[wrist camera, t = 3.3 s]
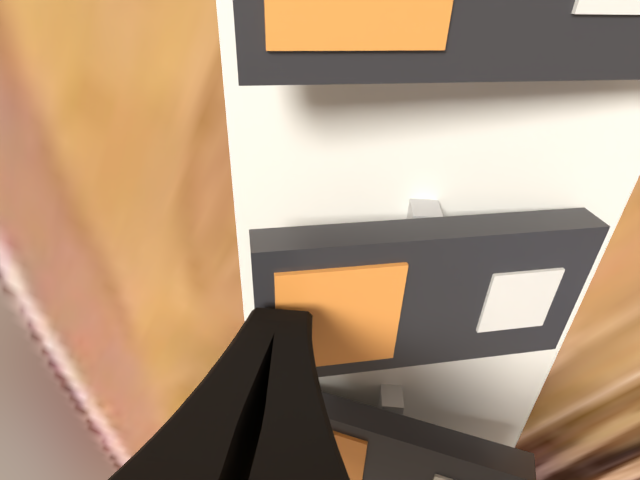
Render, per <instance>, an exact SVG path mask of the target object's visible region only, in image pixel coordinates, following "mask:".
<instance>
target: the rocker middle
mask: <svg viewBox="0 0 640 480" xmlns="http://www.w3.org/2000/svg"><path fill="white" fill-rule="evenodd" d="M609 229H610V226H609V225H608V224H606V223H605V222H604V221H602V220H601V219H599V218H598V217H597V216H595V215H594V214H593V213H591V212H590V211H589V210H587V209H586V208H585V207H584V208H568V209H553V210H538V211H522V212H507V213H492V214H477V215H461V216H446V217H431V218H415V219H400V220H385V221H370V222H354V223H339V224H324V225H308V226H293V227H278V228H263V229H249V238H250V252H251V266H252V281H253V295H254V309H255V308H270V309H284V310H299V311H308V312H309V313H310V314H312V315H313V317H312V344H313V351H314V358H315V364H316V369H317V374H318V377H325V376H334V375H342V374H351V373H359V372H367V371H376V370H384V369H392V368H401V367H409V366H417V365H426V364H434V363H443V362H451V361H459V360H468V359H476V358H484V357H493V356H501V355H509V354H518V353H526V352H535V351H543V350H551V349H556V346H557V344H558V342H559V340H560V337H561V335H562V333H563V331H564V329H565V326H566V324H567V322H568V320H569V317H570V315H571V313H572V311H573V309H574V306H575V304H576V302H577V300H578V298H579V295H580V293H581V291H582V289H583V286H584V284H585V282H586V280H587V278H588V275H589V273H590V271H591V269H592V266H593V264H594V262H595V260H596V258H597V255H598V253H599V251H600V249H601V246H602V244H603V242H604V240H605V238H606V235H607V233H608V231H609Z"/></svg>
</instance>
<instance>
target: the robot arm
mask: <svg viewBox="0 0 640 480" xmlns="http://www.w3.org/2000/svg"><path fill="white" fill-rule="evenodd" d="M312 317H313V315H312V314H310V313H309V312H308V311H299V310H284V309H270V308H255V309H253V310H252V311H251V313H250V314H249V316H248V318H247V319H246V321H245V323H244V324H243V326H242V327H241V329H240V330H239V332H238V333H237V335H236V336H235V338H234V339H233V341H232V342H231V343H230V345H229V346H228V348H227V349H226V350H225V352H224V353H223V354H222V356H221V357H220V358H219V360H218V361H217V362H216V364H215V365H214V366H213V368H212V369H211V370H210V371H209V373H208V374H207V375H206V377H205V378H204V379H203V380H202V382H201V383H200V384H199V385H198V386H197V388H196V389H195V390H194V391H193V392H192V393H191V395H190V396H189V397H188V398H187V399H186V401H185V402H184V403H183V404H182V405H181V406H180V408H179V409H178V410H177V411H176V412H175V413H174V414H173V415H172V417H171V418H170V419H169V420H168V421H167V422H166V423H165V424H164V425H163V426H162V427H161V428H160V429H159V430H158V432H157V433H156V434H155V435H154V436H153V437H152V438H151V439H150V440H149V441H148V442H147V443H146V444H145V445H144V446H143V447H142V448H141V449H140V450H139V451H138V452H137V453H136V454H135V455H134V456H133V457H131V458H130V459H129V460H128V461H127V462H126V463H125V464H124V465H123V466H122V467H121V468H120V469H119V470H118V471H117V472H115V473H114V474H113V475H112V476H111V477H110V478H109V479H108V480H350V478H349V476H348V473H347V470H346V468H345V465H344V462H343V459H342V457H341V454H340V451H339V448H338V445H337V442H336V439H335V436H334V433H333V430H332V427H331V424H330V420H329V417H328V414H327V410H326V407H325V403H324V399H323V395H322V391H321V387H320V383H319V378H318V374H317V369H316V364H315V358H314V351H313V344H312Z"/></svg>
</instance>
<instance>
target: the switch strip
mask: <svg viewBox="0 0 640 480" xmlns="http://www.w3.org/2000/svg"><path fill="white" fill-rule="evenodd" d="M216 5H217V16H218V28H219V39H220V50H221V61H222V73H223V84H224V95H225V106H226V117H227V129H228V140H229V151H230V162H231V174H232V185H233V196H234V207H235V219H236V230H237V241H238V252H239V264H240V275H241V286H242V297H243V309H244V320H245V321H246V319H247V318H248V316H249V314H250V313H251V311H252V310H253V309H254V295H253V281H252V266H251V252H250V238H249V229H263V228H278V227H293V226H308V225H324V224H339V223H354V222H370V221H385V220H400V219H415V218H431V217H446V216H461V215H477V214H492V213H507V212H522V211H538V210H553V209H568V208H584V207H585V208H586V209H587V210H589V211H590V212H591V213H593V214H594V215H595V216H597V217H598V218H599V219H601V220H602V221H604V222H605V223H606V224H608V225H609V226H610V229H609V231H608V233H607V235H606V238H605V240H604V242H603V244H602V246H601V249H600V251H599V253H598V255H597V258H596V260H595V262H594V264H593V266H592V269H591V271H590V273H589V275H588V278H587V280H586V282H585V284H584V286H583V289H582V291H581V293H580V295H579V298H578V300H577V302H576V304H575V306H574V309H573V311H572V313H571V315H570V317H569V320H568V322H567V324H566V326H565V329H564V331H563V333H562V335H561V337H560V340H559V342H558V344H557V346H556V349H551V350H543V351H535V352H526V353H518V354H509V355H501V356H493V357H484V358H476V359H468V360H459V361H451V362H443V363H434V364H426V365H417V366H409V367H401V368H392V369H384V370H376V371H367V372H359V373H351V374H342V375H334V376H325V377H318V378H319V383H320V387H321V391H322V392H325V393H329V394H332V395H335V396H339V397H342V398H346V399H349V400H353V401H356V402H359V403H363V404H366V405H370V406H373V407H376V408H380V409H383V410H387V411H390V412H394V413H397V414H400V415H404V416H407V417H411V418H414V419H417V420H421V421H424V422H428V423H431V424H435V425H438V426H441V427H445V428H448V429H452V430H455V431H458V432H462V433H465V434H469V435H472V436H476V437H479V438H482V439H486V440H489V441H493V442H496V443H499V444H503V445H506V446H510V447H513V448H515V446H516V443H517V441H518V439H519V437H520V435H521V433H522V430H523V428H524V426H525V424H526V422H527V419H528V417H529V415H530V413H531V411H532V409H533V406H534V404H535V402H536V400H537V398H538V395H539V393H540V391H541V389H542V387H543V385H544V382H545V380H546V378H547V376H548V374H549V372H550V369H551V367H552V365H553V363H554V361H555V358H556V356H557V354H558V352H559V350H560V348H561V345H562V343H563V341H564V339H565V337H566V334H567V332H568V330H569V328H570V326H571V324H572V321H573V319H574V317H575V315H576V313H577V310H578V308H579V306H580V304H581V302H582V300H583V297H584V295H585V293H586V291H587V289H588V286H589V284H590V282H591V280H592V278H593V276H594V273H595V271H596V269H597V267H598V265H599V262H600V260H601V258H602V256H603V254H604V252H605V249H606V247H607V245H608V243H609V241H610V238H611V236H612V234H613V232H614V230H615V228H616V225H617V223H618V221H619V219H620V217H621V214H622V212H623V210H624V208H625V206H626V204H627V201H628V199H629V197H630V195H631V193H632V190H633V188H634V186H635V184H636V182H637V180H638V177H639V175H640V80H585V81H521V82H457V83H393V84H330V85H266V86H239V83H238V69H237V55H236V41H235V27H234V13H233V0H216Z"/></svg>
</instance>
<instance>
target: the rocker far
mask: <svg viewBox="0 0 640 480" xmlns="http://www.w3.org/2000/svg"><path fill="white" fill-rule="evenodd" d="M322 395H323V399H324V403H325V407H326V410H327V414H328V417H329V420H330V424H331V427H332V430H333V433H334V436H335V439H336V442H337V445H338V448H339V451H340V454H341V457H342V459H343V462H344V465H345V468H346V470H347V473H348V476H349V478H350V480H536V472H535V459H534V453H530V452H527V451H523V450H520V449H517V448H513V447H510V446H506V445H503V444H499V443H496V442H493V441H489V440H486V439H482V438H479V437H476V436H472V435H469V434H465V433H462V432H458V431H455V430H452V429H448V428H445V427H441V426H438V425H435V424H431V423H428V422H424V421H421V420H417V419H414V418H411V417H407V416H404V415H400V414H397V413H394V412H390V411H387V410H383V409H380V408H376V407H373V406H370V405H366V404H363V403H359V402H356V401H353V400H349V399H346V398H342V397H339V396H335V395H332V394H329V393H325V392H322Z"/></svg>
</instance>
